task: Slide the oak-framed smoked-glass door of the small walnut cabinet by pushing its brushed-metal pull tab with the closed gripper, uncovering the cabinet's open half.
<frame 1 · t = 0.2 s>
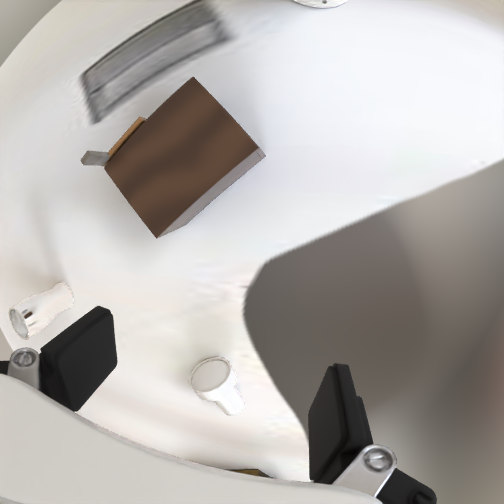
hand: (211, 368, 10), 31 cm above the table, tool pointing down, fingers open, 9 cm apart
beer glass: (65, 294, 49), on the table
sliding door: (130, 143, 32), point 7 cm above the table, slide at 0.0 cm
cabinet: (198, 161, 39), on the table
spotlight: (224, 376, 48), on the table
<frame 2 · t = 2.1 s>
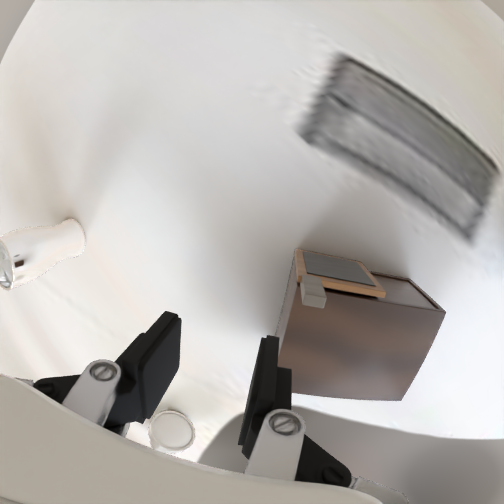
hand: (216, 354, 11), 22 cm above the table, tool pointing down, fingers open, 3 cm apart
beer glass: (73, 237, 36), on the table
sliding door: (338, 276, 25), point 7 cm above the table, slide at 0.0 cm
cabinet: (343, 311, 34), on the table
spotlight: (174, 423, 44), on the table
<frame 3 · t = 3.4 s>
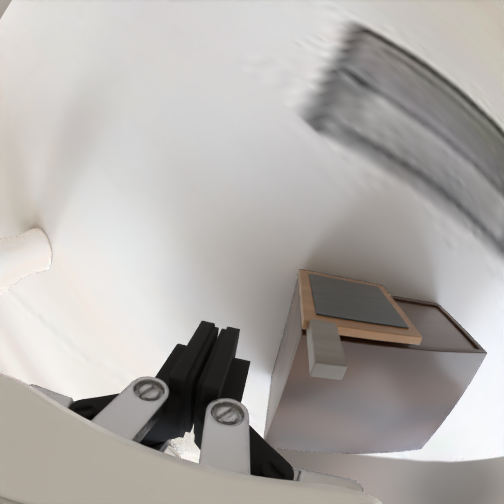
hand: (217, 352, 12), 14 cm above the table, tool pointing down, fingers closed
beer glass: (40, 249, 29), on the table
sliding door: (358, 314, 18), point 7 cm above the table, slide at 0.0 cm
cabinet: (357, 344, 26), on the table
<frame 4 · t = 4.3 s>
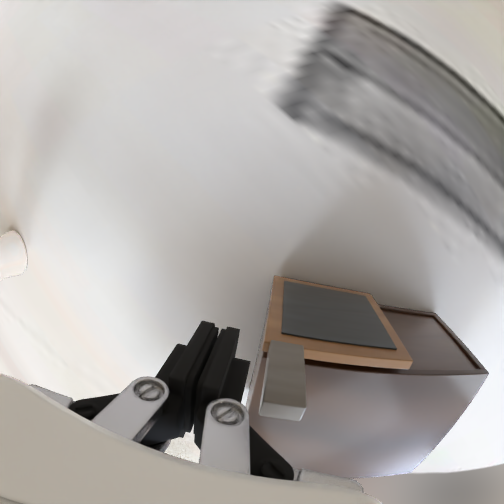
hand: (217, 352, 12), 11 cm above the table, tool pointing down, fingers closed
beer glass: (17, 252, 26), on the table
sliding door: (336, 331, 15), point 7 cm above the table, slide at 0.0 cm, touching gripper
cabinet: (343, 358, 23), on the table
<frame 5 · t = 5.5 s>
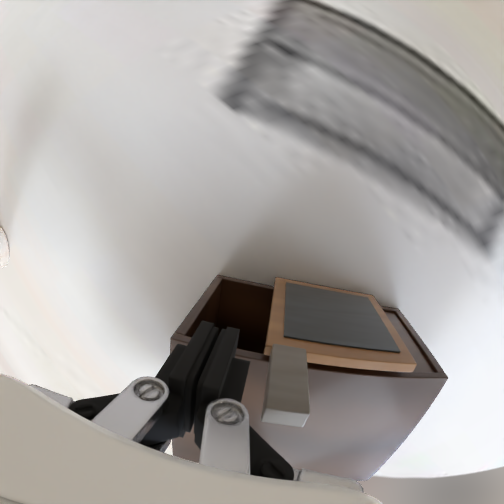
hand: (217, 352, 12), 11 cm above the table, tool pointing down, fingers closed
beer glass: (1, 246, 26), on the table
sliding door: (339, 334, 15), point 7 cm above the table, slide at 4.8 cm, touching gripper
cabinet: (296, 353, 23), on the table
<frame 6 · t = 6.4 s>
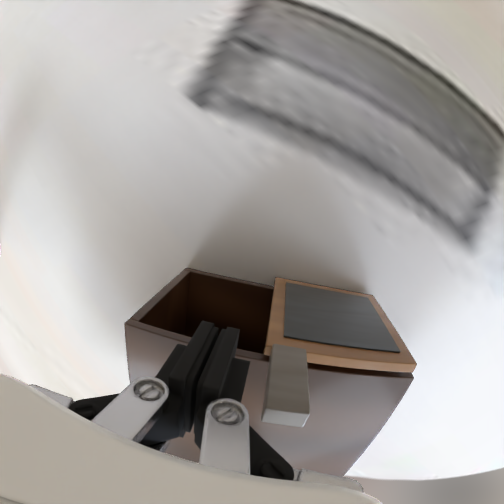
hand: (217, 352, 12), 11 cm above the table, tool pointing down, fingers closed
sliding door: (339, 334, 15), point 7 cm above the table, slide at 7.5 cm, touching gripper
cabinet: (266, 347, 24), on the table
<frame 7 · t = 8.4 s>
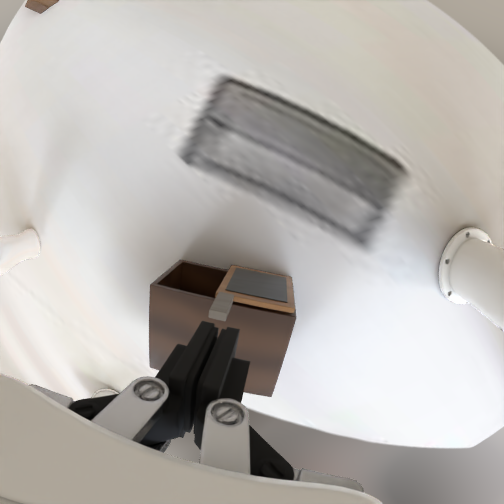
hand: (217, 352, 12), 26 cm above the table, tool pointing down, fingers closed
beer glass: (32, 243, 41), on the table
sliding door: (257, 292, 30), point 7 cm above the table, slide at 7.5 cm
cabinet: (228, 309, 39), on the table
spotlight: (115, 401, 49), on the table
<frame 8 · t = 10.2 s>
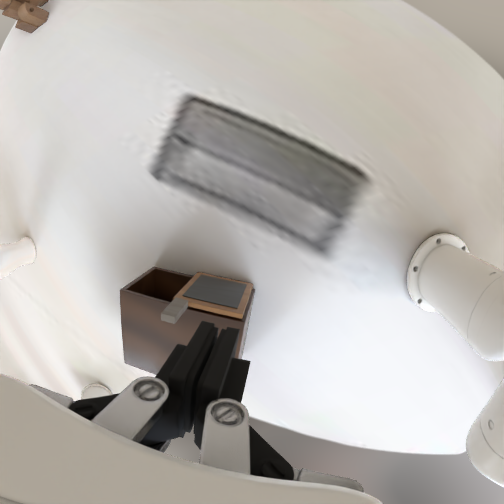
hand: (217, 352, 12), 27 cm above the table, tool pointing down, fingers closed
wooden toy: (46, 7, 29), on the table
beer glass: (29, 250, 45), on the table
sliding door: (212, 298, 33), point 7 cm above the table, slide at 7.5 cm
cabinet: (198, 313, 42), on the table
spotlight: (105, 396, 52), on the table
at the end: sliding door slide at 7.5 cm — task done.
